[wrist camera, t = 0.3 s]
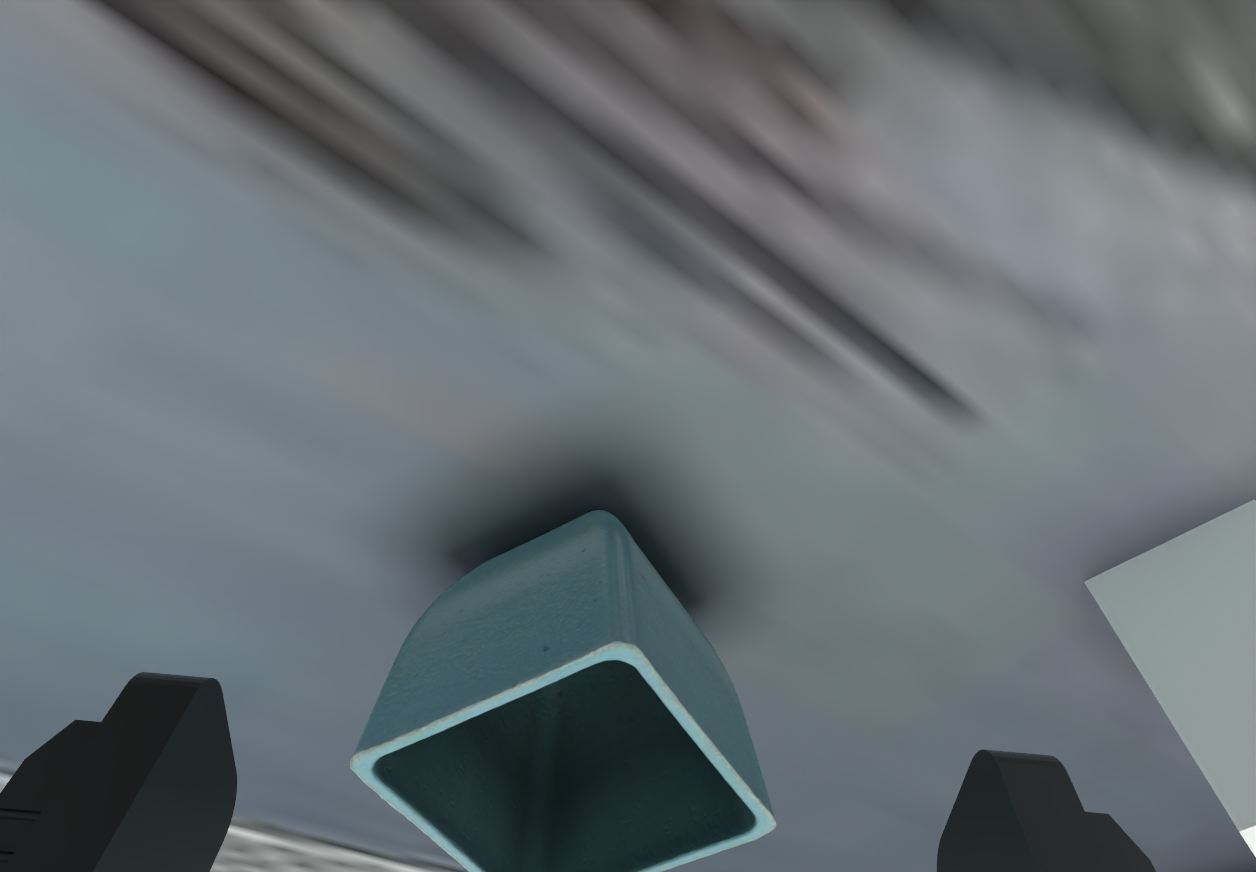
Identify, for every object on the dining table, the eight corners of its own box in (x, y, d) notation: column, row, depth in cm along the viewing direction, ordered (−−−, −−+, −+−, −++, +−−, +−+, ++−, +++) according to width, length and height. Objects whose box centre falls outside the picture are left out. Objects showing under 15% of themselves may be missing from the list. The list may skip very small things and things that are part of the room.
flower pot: (748, 614, 34) (785, 835, 27) (543, 701, 37) (524, 926, 29) (626, 438, 30) (629, 639, 23) (404, 547, 33) (340, 764, 25)
